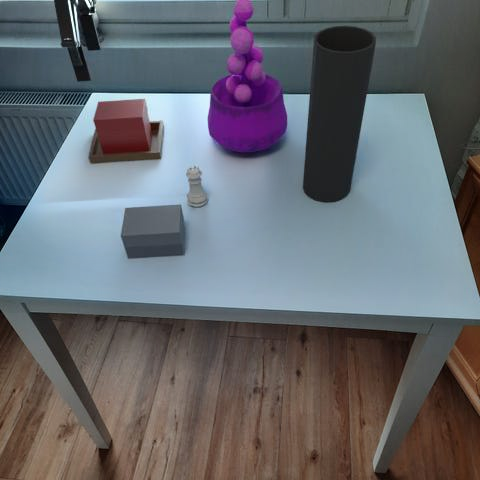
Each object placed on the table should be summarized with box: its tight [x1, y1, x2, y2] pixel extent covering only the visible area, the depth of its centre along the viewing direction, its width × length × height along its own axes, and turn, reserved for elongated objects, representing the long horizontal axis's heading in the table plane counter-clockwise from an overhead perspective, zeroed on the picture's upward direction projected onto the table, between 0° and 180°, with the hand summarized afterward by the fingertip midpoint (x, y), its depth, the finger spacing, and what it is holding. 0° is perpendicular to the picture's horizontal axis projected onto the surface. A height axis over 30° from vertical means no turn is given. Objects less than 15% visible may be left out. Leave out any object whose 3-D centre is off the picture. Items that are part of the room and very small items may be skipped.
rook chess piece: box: [185, 165, 209, 208], centre depth 98 cm, size 4×4×8 cm
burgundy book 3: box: [101, 125, 152, 154], centre depth 113 cm, size 11×8×3 cm
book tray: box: [87, 120, 165, 165], centre depth 114 cm, size 17×14×3 cm
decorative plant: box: [207, 0, 288, 153], centre depth 102 cm, size 19×18×30 cm
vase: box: [302, 25, 377, 203], centre depth 90 cm, size 10×10×30 cm
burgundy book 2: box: [97, 112, 151, 144], centre depth 110 cm, size 11×8×3 cm
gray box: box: [120, 203, 186, 260], centre depth 92 cm, size 11×8×6 cm
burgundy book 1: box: [92, 98, 149, 132], centre depth 108 cm, size 11×8×3 cm
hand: (89, 64), depth 97 cm, fingers open, 13 cm apart
